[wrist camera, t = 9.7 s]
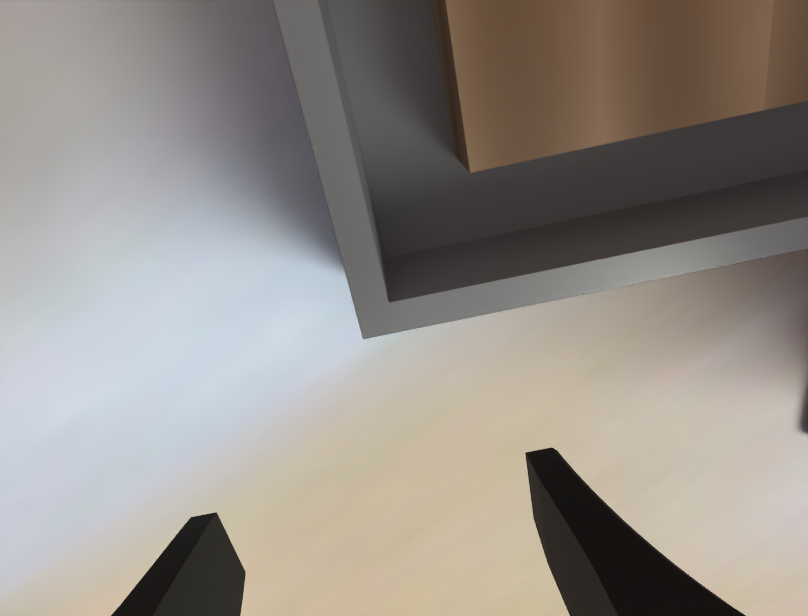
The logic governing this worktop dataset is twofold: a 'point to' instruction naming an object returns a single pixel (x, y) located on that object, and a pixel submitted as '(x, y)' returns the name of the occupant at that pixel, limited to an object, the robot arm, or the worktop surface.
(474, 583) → the worktop surface
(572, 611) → the robot arm
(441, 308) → the tray
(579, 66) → the socket block
